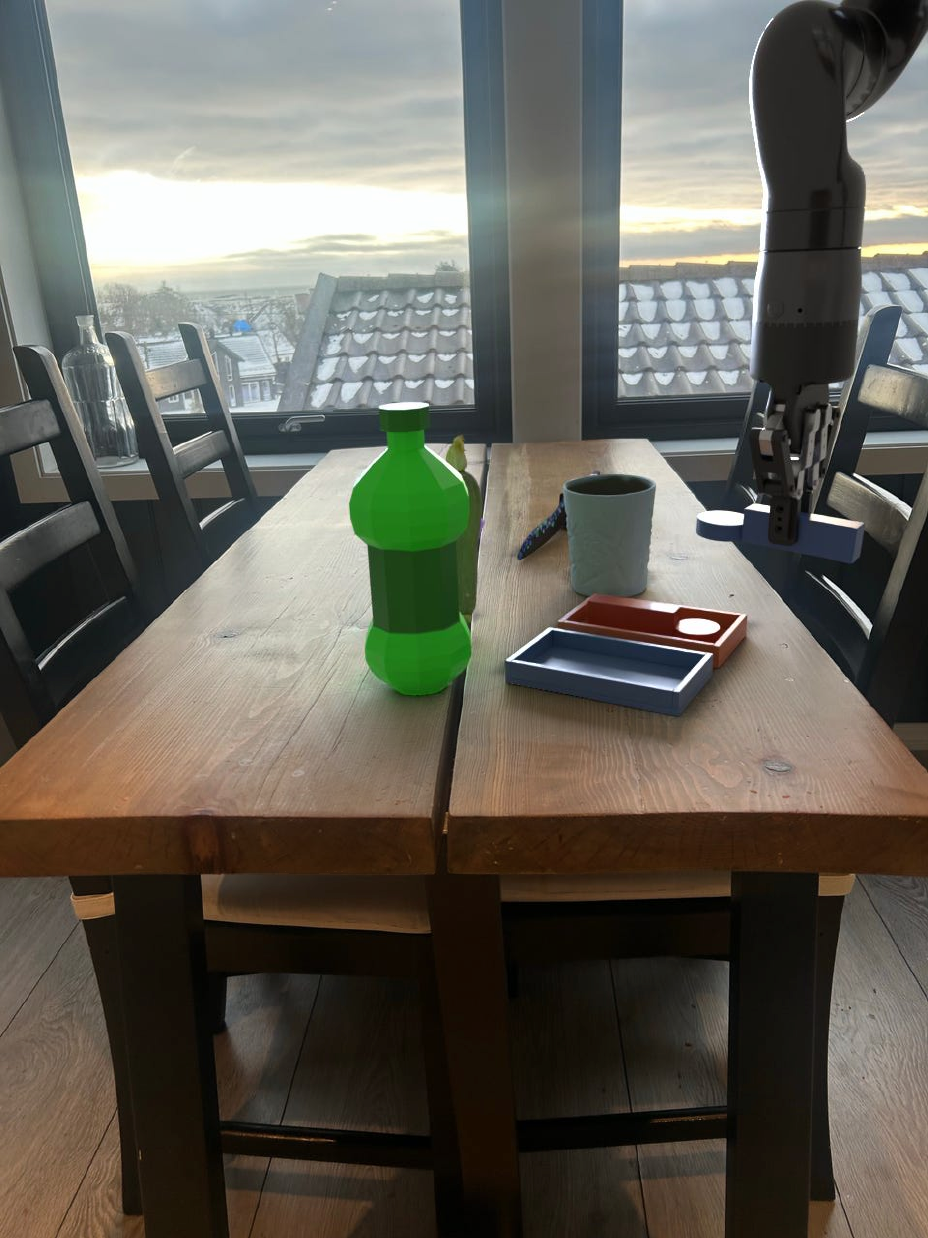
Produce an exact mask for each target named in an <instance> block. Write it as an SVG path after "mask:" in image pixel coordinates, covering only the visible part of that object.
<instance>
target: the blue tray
mask: <svg viewBox="0 0 928 1238" xmlns="http://www.w3.org/2000/svg"><path fill="white" fill-rule="evenodd" d="M713 669H714V668H713V654H712V653H706V652H699V651H693V650H687V649H681V648H675V647H668V646H662V645H656V644H650V643H644V642H637V641H631V640H625V639H619V638H612V637H606V636H600V635H594V634H588V633H581V632H575V631H569V630H563V629H558V628H556V627H548V628H546V629H545V630H544V631H542V632H541V633H540V634H538V635H537V636H536V637H534V638H533V639H532V640H530V641H529V642H528V643H526V644H525V645H523V646H522V647H521V648H520V649H519V650H517V651H515V652H514V653H513V654H511V655H510V656H509V657H508V658H506V659H505V660H504V677H505V678H504V680H505V684H509V683H513V684H512V685H514V684H517V685H516V686H519V685H522V686H521V687H524V686H529V687H534V688H533V689H535V688H539V689H538V690H540V689H544V690H543V691H545V690H549V691H548V692H550V691H554V692H553V693H555V692H559V693H558V694H560V693H565V694H570V695H573V696H572V697H576V696H579V697H578V698H581V697H584V698H583V699H586V698H588V699H587V700H591V699H593V700H592V701H596V700H597V702H602V703H606V704H613V705H618V706H621V707H627V708H631V709H632V708H633V709H637V710H643V711H647V712H648V711H649V712H653V713H656V714H657V713H658V714H662V715H668V716H673V717H680V715H681V714H682V713H683V712H684V711H685V709H687V707H688V705H689V704H690V703H691V702H692V701H693V700H694V699H695V697H696V696H697V695H698V694H699V693H700V691H702V689H703V688H704V687H705V686H706V684H707V683H708V682H709V681H710V680H711V678H712V677H713V672H714V671H713ZM518 684H519V685H518ZM529 687H528V688H529ZM565 694H564V695H565ZM570 695H569V696H570Z"/></svg>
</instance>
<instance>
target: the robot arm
mask: <svg viewBox="0 0 928 1238" xmlns="http://www.w3.org/2000/svg"><path fill="white" fill-rule="evenodd" d="M927 33H928V0H841V1H840V2H839V3H838V4H837V3H834V2H832V1H831V2H830V1H826V0H799V1H795V2H793V3H790V4H789V5H787V6H786V7H784V8H783V9H781V10H780V11H779V12H778V13H777V14H775V15H774V17H772V19H770V21H769V23H768V24H767V25H766V27H765V29H764V30H763V32H762V34H761V36H760V38H759V39H758V42H757V45H756V48H755V52H754V54H753V59H752V63H751V69H750V75H749V106H750V115H751V122H752V129H753V137H754V142H755V148H756V149H755V151H756V156H757V163H758V167H759V171H760V176H761V181H762V187H763V198H762V209H761V212H762V213H761V222H760V223H761V225H760V242H759V243H760V246H759V251H760V252H759V257H758V263H757V268H756V269H757V270H756V275H755V279H754V287H753V300H752V301H753V303H752V318H751V319H752V320H751V321H752V322H751V324H752V325H751V336H750V337H751V338H750V339H751V340H750V358H749V376H750V378H751V379H753V381H755V382H758V383H761V384H763V383H766V384H767V385H768V386H769V389H770V391H769V393H768V398H767V404H766V407H765V409H764V412H763V421H762V426H763V428H762V427H751V429H750V431H749V434H748V443H749V448H750V454H751V458H752V465H753V469H754V475H755V482H756V488H757V492H758V494H762V495H766V497H768V498H770V500H769V506H770V513H769V528H768V540H769V542H770V543H772V544H777V545H785V546H792V545H794V544H795V543H796V542H797V541H798V533H799V520H800V512H806V513H811V514H812V511H813V510H812V509H813V499H814V498H813V496H814V492H815V491H816V490H817V488H818V487H819V483H820V482H819V479H825V477H826V475H827V472H828V467H829V462H830V459H831V454H832V450H833V447H834V442H835V438H836V434H837V431H838V426H839V422H840V418H841V416H842V413H841V407H840V406H832V404H831V403H830V396H831V395H830V385H831V384H832V385H833V384H839V383H843V382H846V381H848V380H850V379H851V378H852V377H853V375H854V374H855V364H856V363H855V362H856V354H857V342H858V330H859V321H860V309H861V298H862V288H863V287H862V286H863V271H862V270H863V268H862V248H861V247H862V246H863V235H864V224H865V212H866V199H867V181H866V174H865V171H864V169H863V167H862V166H861V164H859V163H858V162H857V161H856V160H855V159H853V158H852V156H851V155H850V153H849V149H848V130H847V122H849V121H852V120H854V119H856V118H858V117H860V116H861V115H863V114H865V112H868V110H870V109H871V108H872V107H873V106H874V105H875V104H876V103H877V102H879V101H880V99H882V98H883V97H884V96H885V95H886V94H887V92H888V91H890V89H891V88H892V87H893V85H894V84H895V83H896V82H897V81H898V79H899V77H900V76H901V75H902V73H903V72H904V71H905V69H906V68H907V66H908V64H909V63H910V61H911V60H912V58H913V56H914V55H915V54H916V51H917V50H918V49H919V46H920V45H921V43H922V42H923V40H924V38H925V37H926V36H927Z"/></svg>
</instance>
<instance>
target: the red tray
mask: <svg viewBox="0 0 928 1238" xmlns="http://www.w3.org/2000/svg"><path fill="white" fill-rule="evenodd" d="M595 595H599V596H606V597H613V598H620V599H627V600H634V601H642V602H649V603H656V604H663V605H670V606H677V607H680V621H681V620H685V619H705V620H710V621H713V622H715V623H717V624H718V625H719V626H720V628H721V629H720V639H719V640H718V641H717V642H716V643H715V644H714V643H708V642H702V641H695V640H689V639H682V638H676V637H670V636H663V635H657V634H650V633H644V632H638V631H631V630H625V629H618V628H612V627H605V626H599V625H593V624H587V601H588V600H589V599H591V598H592V597H593V596H595ZM747 628H748V614H747V613H739V612H731V611H725V610H717V609H710V608H703V607H696V606H688V605H683V604H674V603H666V602H659V601H652V600H646V599H637V598H631V597H617V596H610V595H603V594H596V593H594V594H593V595H592V596H590V597H589V596H588V597H587V598H586V599H585V600H583V602H581V603H580V604H579V605H577V606H575V607H574V608H573V609H572V610H571V611H569V612H568V613H566V614H565V615H564V616H562V617H560V619H558V620H557V629H563V630H569V631H575V632H581V633H588V634H594V635H600V636H606V637H612V638H619V639H625V640H631V641H637V642H644V643H650V644H656V645H662V646H668V647H675V648H681V649H687V650H693V651H699V652H706V653H712V654H713V669H720V668H721V666H722V665H723V664H724V662H725V661H726V660H727V659H728V657H730V655H731V654H732V653H733V651H735V649H736V648H737V647H738V646H739V645H740V643H741V642H742V641H743V639H744V638H745V637H746V636H747Z"/></svg>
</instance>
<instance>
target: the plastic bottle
mask: <svg viewBox="0 0 928 1238" xmlns="http://www.w3.org/2000/svg"><path fill="white" fill-rule="evenodd" d="M378 419H379V431H381V432H386V443H387V444H386V445H387V447H386V449H384V450H383V451H382V452H381V453H380V454H379V455H378V456H377V457H376V458H375V459H374V460H373V461H372V462H371V463H370V464H369V465H368V466H367V467H366V468H365V469H364V470H363V471H362V472H361V473H360V475H358V477H357V478H356V479H355V480H354V484H353V488H352V491H351V494H350V499H349V502H348V509H349V510H348V511H349V519H350V523H351V526H352V530H353V533H354V535H355V536H357V537H358V538H359V539H360V540H361V541H362V542H363V543H364V544H366V545H367V556H368V557H367V559H368V570H369V584H370V596H371V597H370V598H371V611H372V618H371V621H370V623H369V625H368V629H367V632H366V637H365V643H364V655H365V658H364V659H365V662H366V664H367V665H368V667H369V669H370V672H371V673H373V674H374V675H375V676H376V678H378V679H379V680H381V681H383V682H384V683H385V684H387V685H389V686H390V687H392V690H394V691H396V692H398V693H400V694H401V693H402V694H401V695H405V696H416V695H420V696H419V697H422V696H421V695H423V696H427V695H426V694H428V695H432V694H438V693H440V692H441V691H443V690H444V689H443V688H445V687H446V688H448V687H449V686H448V685H450V683H451V682H453V681H455V680H456V679H457V677H459V676H460V675H462V673H463V672H464V671H465V670H466V669H467V667H468V665H469V663H470V660H471V657H472V639H471V632H470V631H471V630H470V628H469V625H468V624H467V623H466V621H465V619H464V617H463V616H462V614H461V613H460V611H459V594H458V572H457V550H456V540H457V539H458V538H459V537H460V536H461V535H462V533H463V532H464V531H465V530H466V529H467V526H468V520H469V514H470V509H469V495H468V490H467V487H466V485H465V482H464V480H463V477H462V475H461V474H460V473H459V472H457V471H456V470H455V469H454V468H453V467H452V466H451V465H449V464H448V463H447V462H446V459H444V458H442V457H441V456H440V455H438V454H437V453H436V452H435V451H434V450H432V449H430V448H429V447H428V446H426V445H425V444H426V443H425V430H428V429H430V428H431V424H430V403H426V402H421V401H419V402H418V401H403V402H394V403H393V402H392V403H387V404H381V405H379V406H378ZM447 686H448V687H447ZM446 688H445V689H446ZM442 689H443V690H442ZM439 691H440V692H439ZM437 692H438V693H437Z"/></svg>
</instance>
